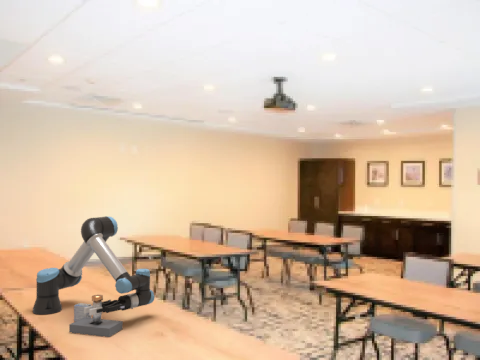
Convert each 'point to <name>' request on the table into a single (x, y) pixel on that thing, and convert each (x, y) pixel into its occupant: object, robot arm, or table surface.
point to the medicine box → (80, 311)
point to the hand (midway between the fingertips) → (87, 311)
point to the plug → (97, 303)
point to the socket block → (96, 327)
